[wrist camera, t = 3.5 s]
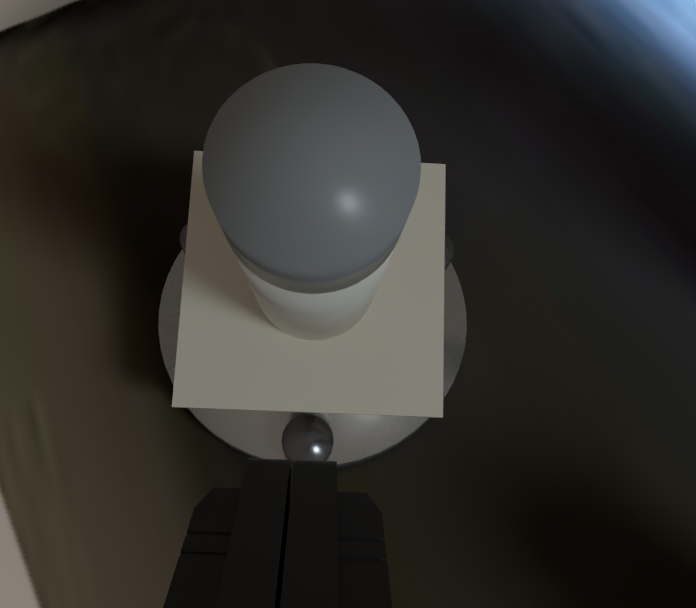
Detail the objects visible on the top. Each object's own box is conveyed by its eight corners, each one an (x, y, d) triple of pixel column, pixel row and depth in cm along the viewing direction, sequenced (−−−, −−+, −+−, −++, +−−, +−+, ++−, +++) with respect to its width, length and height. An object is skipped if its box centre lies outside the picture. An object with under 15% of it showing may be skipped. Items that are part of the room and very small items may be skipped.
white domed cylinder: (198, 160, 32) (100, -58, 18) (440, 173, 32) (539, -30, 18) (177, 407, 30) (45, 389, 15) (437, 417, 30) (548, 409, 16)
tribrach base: (312, 152, 40) (313, 107, 36) (519, 321, 36) (542, 289, 32) (101, 322, 35) (76, 289, 31) (315, 543, 31) (316, 535, 27)
